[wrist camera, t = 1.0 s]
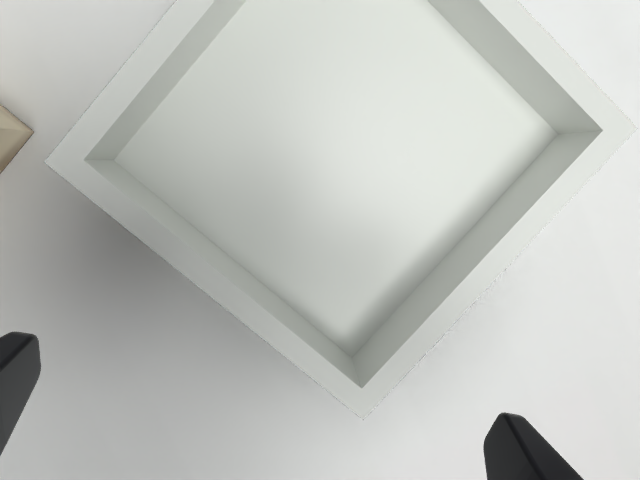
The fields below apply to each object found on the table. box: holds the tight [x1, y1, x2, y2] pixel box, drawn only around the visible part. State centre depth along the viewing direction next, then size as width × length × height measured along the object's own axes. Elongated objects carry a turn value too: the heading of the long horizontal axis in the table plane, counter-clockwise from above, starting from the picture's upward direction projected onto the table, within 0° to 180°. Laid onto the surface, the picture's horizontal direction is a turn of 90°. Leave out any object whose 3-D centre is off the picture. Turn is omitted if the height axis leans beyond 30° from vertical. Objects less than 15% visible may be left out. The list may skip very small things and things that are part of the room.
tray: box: [44, 0, 638, 420], centre depth 20 cm, size 16×16×4 cm
